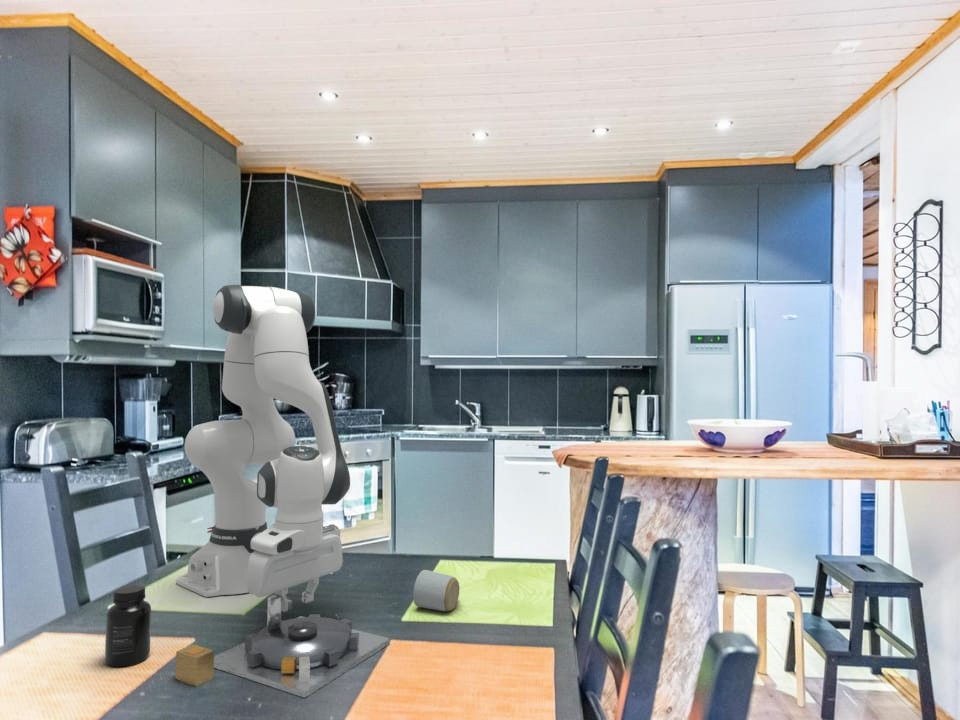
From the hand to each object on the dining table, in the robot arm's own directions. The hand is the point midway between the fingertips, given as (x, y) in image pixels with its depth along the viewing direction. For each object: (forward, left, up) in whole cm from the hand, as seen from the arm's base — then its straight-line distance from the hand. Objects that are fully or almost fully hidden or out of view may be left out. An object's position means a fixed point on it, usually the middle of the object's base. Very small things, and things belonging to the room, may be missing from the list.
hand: (296, 605), depth 117 cm
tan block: (-2, -20, -6) cm, 21 cm away
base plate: (+7, -5, -6) cm, 10 cm away
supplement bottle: (-18, -21, -6) cm, 29 cm away
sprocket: (+7, -5, -4) cm, 9 cm away
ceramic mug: (+15, +26, -6) cm, 31 cm away
